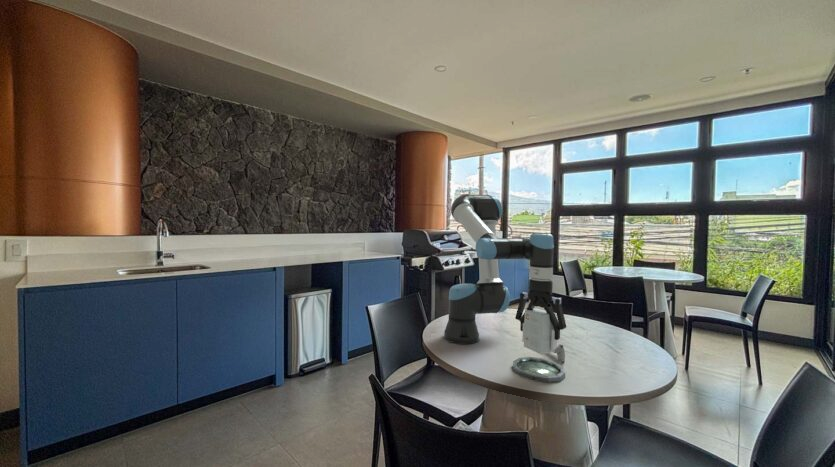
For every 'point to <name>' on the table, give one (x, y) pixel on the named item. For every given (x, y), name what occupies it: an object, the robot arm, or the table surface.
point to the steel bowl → (538, 369)
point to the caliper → (560, 353)
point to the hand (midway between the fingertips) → (539, 344)
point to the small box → (538, 331)
